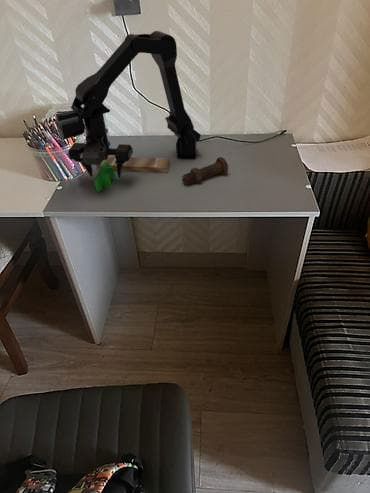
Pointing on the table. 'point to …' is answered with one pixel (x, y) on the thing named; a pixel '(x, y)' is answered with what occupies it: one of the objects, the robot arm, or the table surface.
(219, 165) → the bolt
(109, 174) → the pipe clamp
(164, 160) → the brown wooden plank
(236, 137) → the table surface
